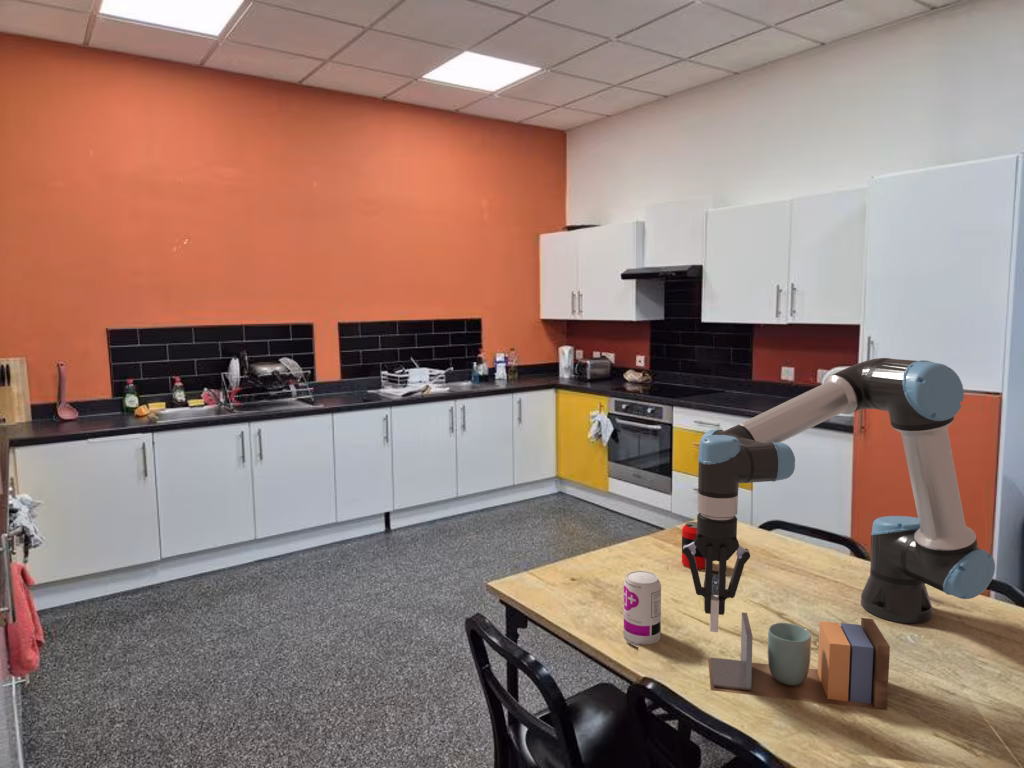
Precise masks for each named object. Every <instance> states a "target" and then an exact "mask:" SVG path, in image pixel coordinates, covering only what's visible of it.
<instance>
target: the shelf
mask: <svg viewBox="0 0 1024 768" xmlns="http://www.w3.org/2000/svg"><path fill="white" fill-rule="evenodd" d="M860 620H861V621H860V625H861V627H862V629H863V630H864V632H865V634H866V636H867V637H868V639H869V641H870V642H871V644H872V646H873V648H874V649H873V670H872V691H871V704H869V703H860V702H851V701H850V700H849V697H848V701H842V700H834V699H828V698H827V696H826V693H825V691H824V688H823V685H822V683H821V680H820V678H819V675H818V668H809V672H808V675H807V678H806V680H805V681H804V682H803V683H801V684H799V685H795V686H791V685H786V684H783V683H781V682H779V681H777V680H776V679H775V678H774V677H773V676H772V674H771V672H770V669H769V664H768V663H760V662H759V663H758V662H752V678H751V691H750V690H742V689H733V688H724V687H715V686H713V679H712V669H711V658H712V657H708V658H707V664H708V675H709V684H710V685H709V686H710V691H715V692H725V693H732V694H733V693H734V694H743V695H749V696H750V695H751V696H760V697H766V698H767V697H768V698H769V697H770V698H777V699H785V700H795V701H802V702H810V703H811V702H812V703H821V704H829V705H837V706H845V707H855V708H862V709H863V708H865V709H871V710H872V709H874V710H882V711H888V695H889V692H888V691H889V676H890V675H889V674H890V673H889V671H890V652H891V646H890V644H889V642H888V641H887V639H886V638H885V637H884V635H883V633H882V632H881V630H880V629H879V627H878V625H877V623H876V622H875V621H874V619H873V618H865V617H861V619H860Z"/></svg>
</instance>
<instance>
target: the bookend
mask: <svg viewBox="0 0 1024 768" xmlns="http://www.w3.org/2000/svg"><path fill="white" fill-rule="evenodd" d="M740 630H741V632H740V633H741V635H740V644H741V645H740V660H738V659H737V660H736V659H729V658H727V659H726V658H718V657H710V658H711V669H712V679H713V686H715V687H724V688H733V689H742V690H750V691H751V678H752V663H753V637H754V636H753V633H752V629H751V623H750V621H749V617H748V613H747V612H741V629H740Z"/></svg>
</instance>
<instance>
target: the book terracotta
mask: <svg viewBox="0 0 1024 768" xmlns="http://www.w3.org/2000/svg"><path fill="white" fill-rule="evenodd" d="M818 629H819V631H818V655H817V657H818V658H817V669H818V675H819V678H820V680H821V683H822V685H823V688H824V691H825V693H826V696H827V698H828V699H834V700H842V701H848V689H849V666H850V644H849V642H848V640H847V638H846V636H845V634H844V632H843V630H842V628H841V623H839V622H831V621H821V620H820V621H819V628H818Z"/></svg>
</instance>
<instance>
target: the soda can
mask: <svg viewBox="0 0 1024 768" xmlns="http://www.w3.org/2000/svg"><path fill="white" fill-rule="evenodd" d="M696 535H697V521H688V522H686V523H685V524H684V525H683V526H682V529H681V564H682V566H684V567H685V566H686V568H687V567H689V568H688V569H690V565H689V560H688V558H687V557H686V555H685V554H684V552H683V545H684V544H690V543H692V542H694V538H695V537H696ZM695 550H696V553H695V555H694V556H695V560H696V565H697V569H698V570H703V568H704V569H705V563H706V560H705V558H704V557H703V556H702V554H701V553H700V552H699V550H698V549H697V547H696V548H695Z"/></svg>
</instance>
